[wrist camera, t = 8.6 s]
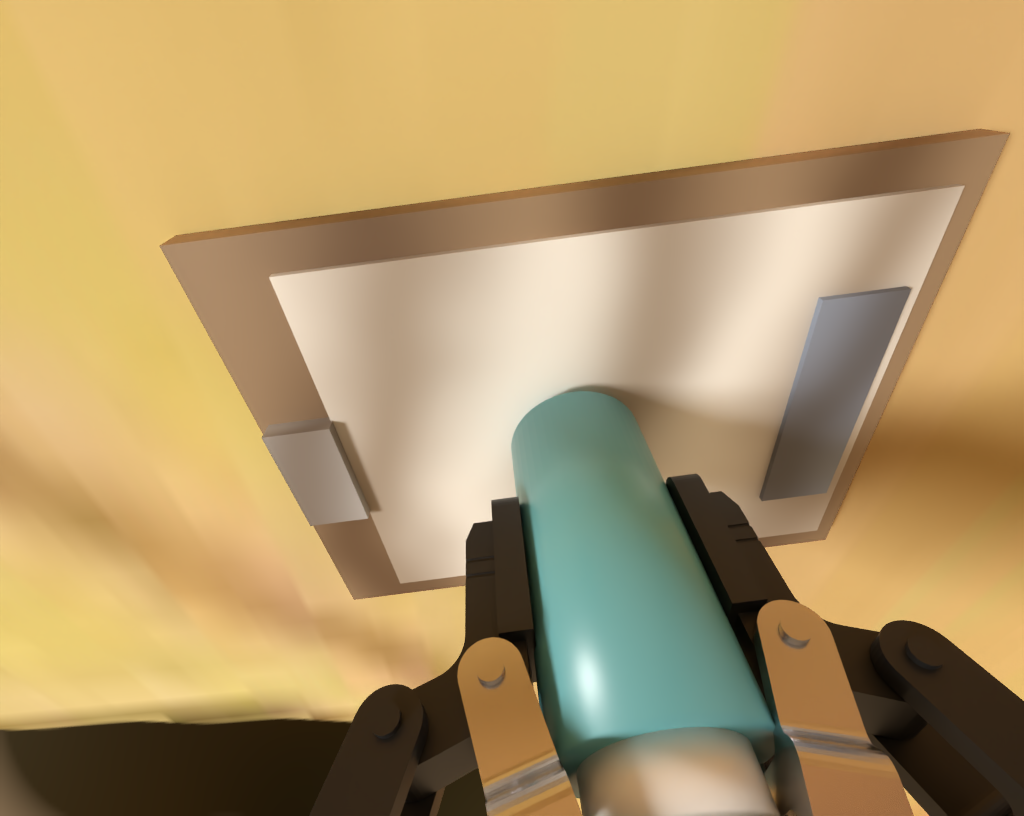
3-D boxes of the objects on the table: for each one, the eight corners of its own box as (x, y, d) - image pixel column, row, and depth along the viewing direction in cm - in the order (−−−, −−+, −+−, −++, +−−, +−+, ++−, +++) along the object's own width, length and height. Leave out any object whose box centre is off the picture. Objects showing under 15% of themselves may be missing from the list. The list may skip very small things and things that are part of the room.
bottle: (642, 382, 14) (885, 842, 6) (635, 480, 16) (801, 901, 8) (504, 401, 14) (554, 884, 6) (517, 496, 16) (567, 930, 8)
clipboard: (980, 128, 12) (1033, 137, 11) (814, 524, 21) (834, 551, 20) (175, 235, 12) (145, 254, 11) (357, 582, 21) (351, 612, 20)
